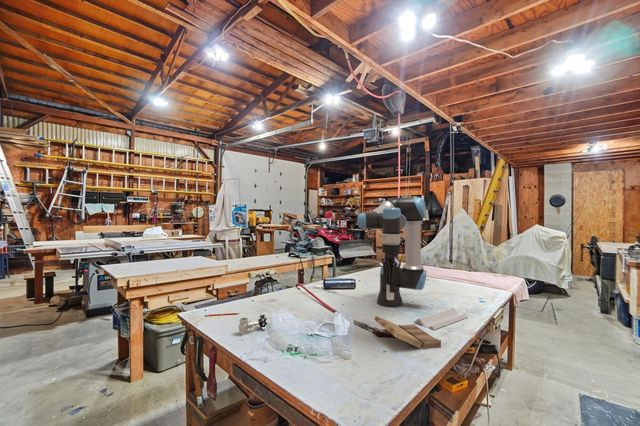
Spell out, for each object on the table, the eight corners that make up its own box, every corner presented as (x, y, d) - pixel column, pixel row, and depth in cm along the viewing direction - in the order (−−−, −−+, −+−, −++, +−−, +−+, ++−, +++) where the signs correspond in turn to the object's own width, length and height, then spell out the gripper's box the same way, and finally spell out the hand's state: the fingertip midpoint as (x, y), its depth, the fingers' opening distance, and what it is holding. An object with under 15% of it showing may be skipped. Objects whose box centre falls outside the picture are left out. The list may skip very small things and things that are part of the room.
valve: (242, 337, 121) (267, 331, 129) (242, 322, 121) (267, 316, 129) (235, 332, 126) (260, 326, 134) (236, 317, 126) (260, 312, 134)
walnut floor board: (398, 329, 133) (398, 324, 133) (413, 328, 135) (413, 323, 135) (423, 348, 114) (423, 343, 114) (440, 347, 116) (440, 341, 116)
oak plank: (373, 319, 130) (375, 315, 130) (395, 328, 133) (397, 324, 133) (395, 337, 111) (397, 332, 111) (420, 348, 113) (422, 343, 114)
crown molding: (433, 331, 133) (433, 323, 134) (412, 323, 143) (412, 316, 143) (467, 318, 152) (467, 311, 152) (446, 312, 161) (446, 306, 162)
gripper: (376, 242, 127) (375, 295, 127) (390, 245, 115) (389, 304, 114) (391, 242, 129) (390, 295, 128) (407, 245, 116) (406, 303, 116)
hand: (390, 299), depth 121 cm, fingers closed
